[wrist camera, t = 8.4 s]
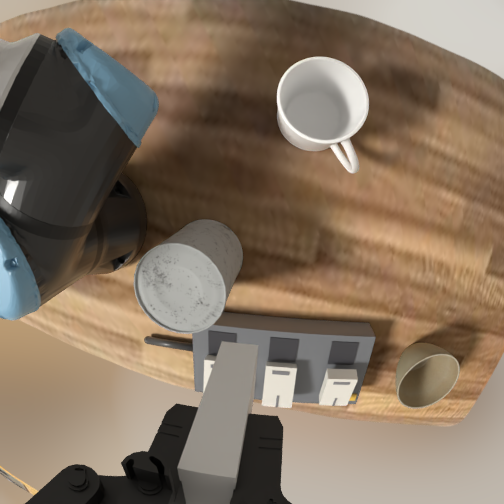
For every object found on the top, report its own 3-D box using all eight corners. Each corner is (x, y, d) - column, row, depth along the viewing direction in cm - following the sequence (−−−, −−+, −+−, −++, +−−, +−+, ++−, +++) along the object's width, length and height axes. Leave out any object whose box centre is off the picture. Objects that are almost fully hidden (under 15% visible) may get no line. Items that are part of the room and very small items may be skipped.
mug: (368, 160, 37) (401, 160, 25) (306, 186, 38) (316, 196, 27) (327, 75, 34) (344, 41, 23) (265, 100, 36) (257, 75, 24)
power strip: (150, 366, 48) (141, 381, 44) (143, 301, 45) (131, 314, 41) (351, 387, 46) (356, 405, 42) (369, 322, 42) (376, 337, 38)
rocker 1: (206, 392, 42) (203, 398, 40) (207, 354, 41) (204, 359, 40) (233, 395, 42) (232, 402, 40) (236, 358, 41) (234, 363, 39)
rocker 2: (262, 399, 41) (261, 405, 39) (266, 361, 41) (265, 366, 39) (290, 402, 41) (291, 408, 39) (296, 363, 41) (296, 368, 39)
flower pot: (373, 358, 44) (384, 387, 37) (424, 316, 41) (443, 340, 34) (404, 390, 45) (416, 418, 38) (451, 353, 43) (468, 377, 36)
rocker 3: (318, 395, 42) (319, 405, 40) (327, 368, 39) (327, 379, 37) (345, 395, 41) (346, 405, 40) (356, 369, 39) (357, 380, 37)
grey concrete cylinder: (226, 208, 40) (202, 228, 28) (253, 276, 42) (241, 320, 30) (161, 234, 42) (118, 261, 30) (190, 297, 44) (159, 342, 32)
